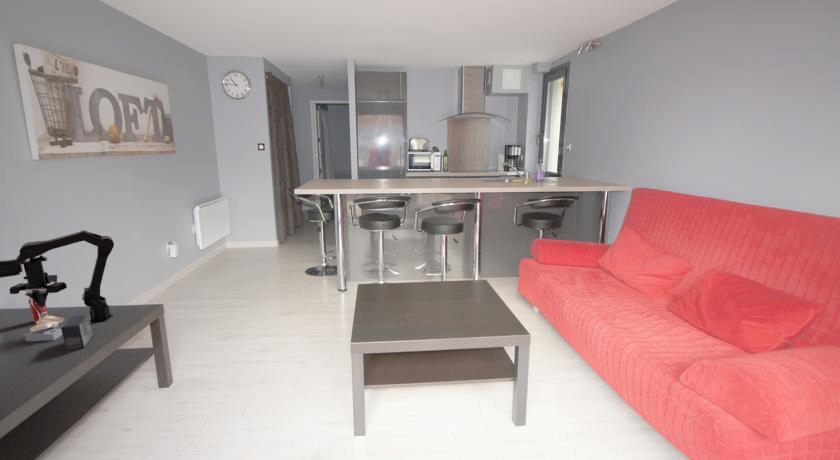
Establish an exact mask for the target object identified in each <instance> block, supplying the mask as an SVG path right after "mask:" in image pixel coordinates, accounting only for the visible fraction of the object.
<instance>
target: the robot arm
mask: <svg viewBox="0 0 840 460" xmlns="http://www.w3.org/2000/svg"><path fill="white" fill-rule="evenodd" d="M80 242H86V243H89V245H90V244H91V245H93V246H95V247H96V249H97V252H96V255H97V256H96V259H95V262H94V263H95V264H94V266H93V267H94V268H93V271H92V275H91V280H90V284H89V286H88V287H86V286H85V287H84V288H83V293H82V295H81V298H82V301H83V304H84V305H85V306H86V307H88V308H89V311H88V312H89V317H90V322H92V323H93V322H94V323H95V322H105V321H107V320H108V319H110V318H111V317H112V316H113V315H114V314H112V313H111V311H110V306H109V304H108V303H107V299H106V297H104V296H102V295H101V284H102V281H103V278H104V273H105V268H106V266H107V260H108V258H109V256H110V255H111V253H112V250H113V248H115V247H114V246H115V243H114V240H113V238H112V237H111V236H110V235H109V236H108V235H100V234H97V233H93V232H90V231H88V230H80V231H77V232H74V233H70V234H66V235H63V236H60V237H55V238H51V239H48V240H36V241H29V242H26V243H24V244H22V245H21V246H20V249H19V254H18V255H16V258H15V259H7V260H0V279H3V278H9V277H15V276H20V275H21V273H25V276H23V280H26V281H27V282H24V283H18V284H14V285H13V286H10V287H9V294H10V295H18V294H19V293H20V292H21V291H25V292H26V293H25V294H24V296H27V297H28V298H29V297H30V298H31V299H33V300H34V301H35V302H36V303H37V304H38V305H39V306H40V307H44V306H45V304H47V303H46V302H47V298H48V295H49V294H56V293H59V292H61V291H64V290H65V289H67V288H68V285H67V283H66V282H63V281H58V274H49V273H48V272H47V271H44V266H43V262H47V261H48V257H46V256H44V255H43V254H45V253H47V252H49V251H51V250H54V249H58V248H59V249H60V248H62V247H66V246H69V245H72V244H77V243H80ZM22 265H23V266H22ZM23 268H24V272H23ZM51 283H52V284H51Z"/></svg>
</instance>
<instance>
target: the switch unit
mask: <svg viewBox="0 0 840 460" xmlns="http://www.w3.org/2000/svg"><path fill="white" fill-rule="evenodd" d="M66 322H67V321H65V322H63V323H61V324H59V325H58V326H56V327H55V328H53V327H49V328H47V329H43V330H39V331H34V332H31V331H30V330H29V331H28V332H27V333H25V334H23V336H24V340H25V342H39V341H40V342H41V341H55V340H57V339H58V338H60V337H61V336H63V335H62V331H61V327H62V326H63V325H64V324H65V323H66Z"/></svg>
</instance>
